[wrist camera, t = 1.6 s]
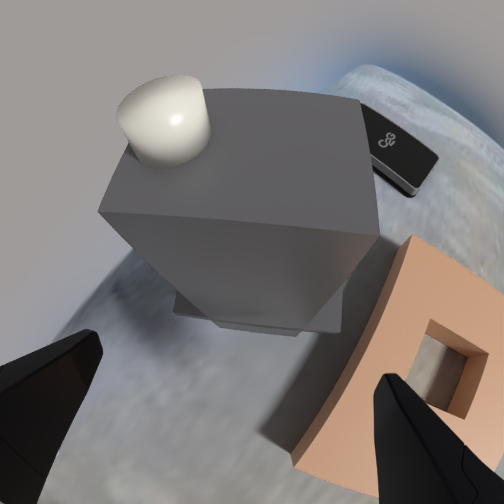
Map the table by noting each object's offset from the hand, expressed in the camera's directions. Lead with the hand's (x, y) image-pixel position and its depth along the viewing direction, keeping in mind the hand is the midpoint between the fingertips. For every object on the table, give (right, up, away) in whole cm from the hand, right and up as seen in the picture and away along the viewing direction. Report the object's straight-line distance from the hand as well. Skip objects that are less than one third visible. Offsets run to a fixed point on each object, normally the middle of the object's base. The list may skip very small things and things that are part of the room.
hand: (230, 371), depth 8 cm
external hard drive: (+14, +14, +19) cm, 27 cm away
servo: (+1, 0, +13) cm, 13 cm away
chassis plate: (+16, -8, +9) cm, 20 cm away
